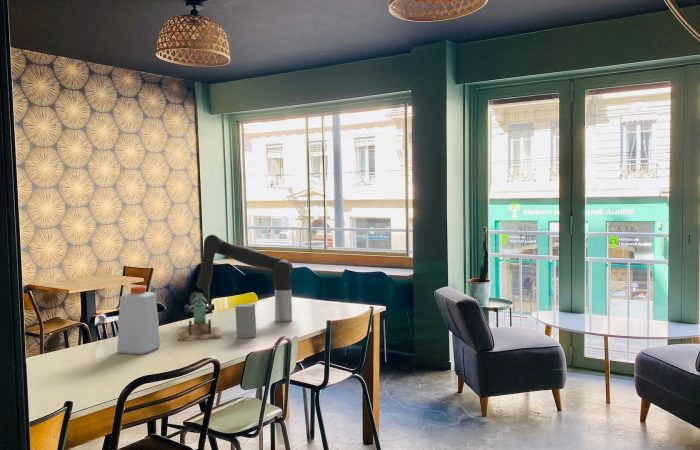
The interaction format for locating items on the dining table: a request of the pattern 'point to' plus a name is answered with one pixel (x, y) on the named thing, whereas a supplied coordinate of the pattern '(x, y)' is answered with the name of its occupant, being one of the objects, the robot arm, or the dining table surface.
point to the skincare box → (245, 320)
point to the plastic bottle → (138, 322)
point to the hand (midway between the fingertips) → (199, 310)
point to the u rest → (199, 332)
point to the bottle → (199, 310)
